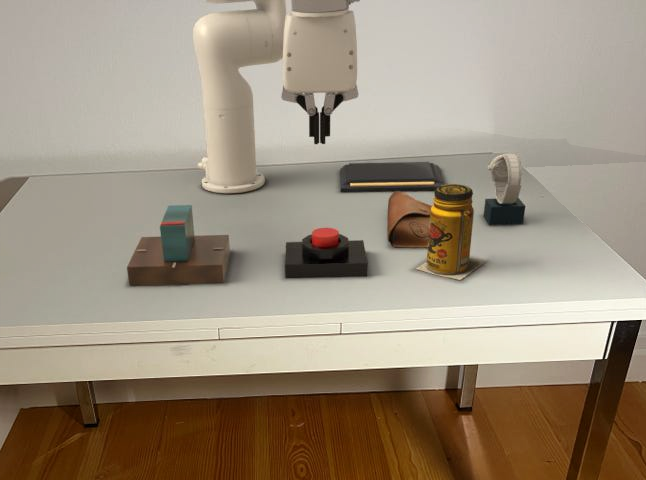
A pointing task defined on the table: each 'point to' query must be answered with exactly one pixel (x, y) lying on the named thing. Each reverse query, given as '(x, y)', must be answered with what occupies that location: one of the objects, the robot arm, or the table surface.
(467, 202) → the condiment
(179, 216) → the teal rectangular block
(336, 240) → the button
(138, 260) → the base
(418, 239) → the sunglasses case
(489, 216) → the watch
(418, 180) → the wallet
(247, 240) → the table surface
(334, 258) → the button box
